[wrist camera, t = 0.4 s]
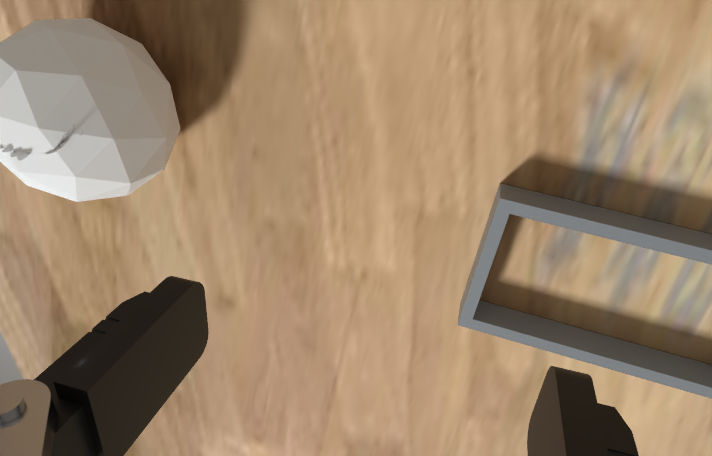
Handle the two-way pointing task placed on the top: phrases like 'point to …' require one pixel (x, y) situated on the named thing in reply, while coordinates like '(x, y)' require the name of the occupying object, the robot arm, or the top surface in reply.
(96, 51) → the geodesic sphere
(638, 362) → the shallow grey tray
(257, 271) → the top surface
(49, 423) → the robot arm
